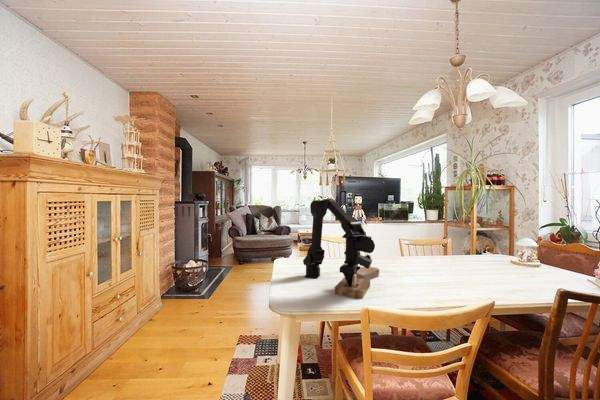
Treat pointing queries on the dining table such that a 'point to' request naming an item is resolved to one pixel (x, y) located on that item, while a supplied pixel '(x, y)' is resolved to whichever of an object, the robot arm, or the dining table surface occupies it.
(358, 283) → the seat board
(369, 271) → the brick
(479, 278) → the dining table surface
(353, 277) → the peg
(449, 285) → the dining table surface
